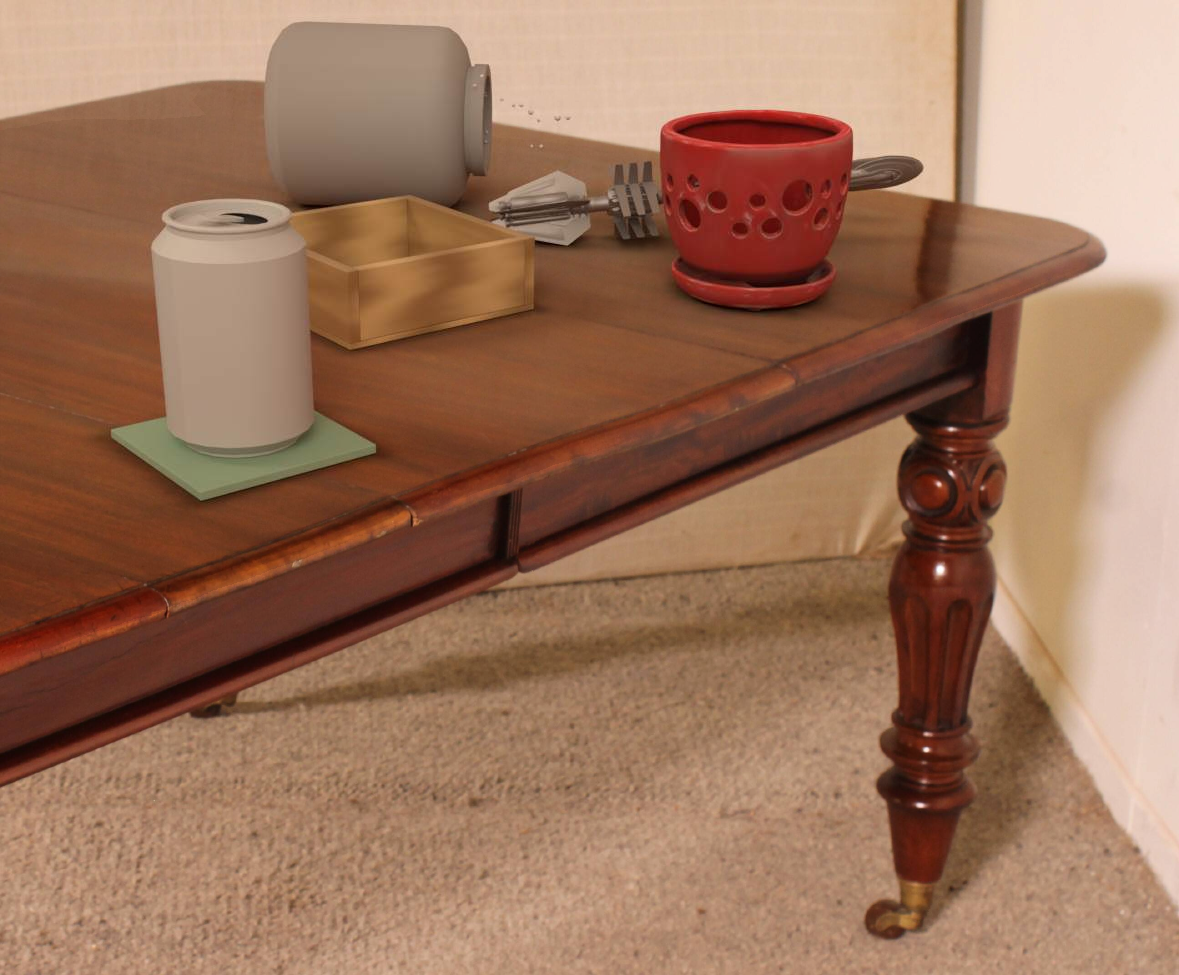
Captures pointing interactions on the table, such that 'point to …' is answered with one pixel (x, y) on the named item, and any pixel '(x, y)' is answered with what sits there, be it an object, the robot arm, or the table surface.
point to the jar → (375, 113)
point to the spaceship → (638, 199)
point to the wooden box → (409, 269)
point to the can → (234, 326)
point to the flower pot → (754, 204)
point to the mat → (234, 474)
